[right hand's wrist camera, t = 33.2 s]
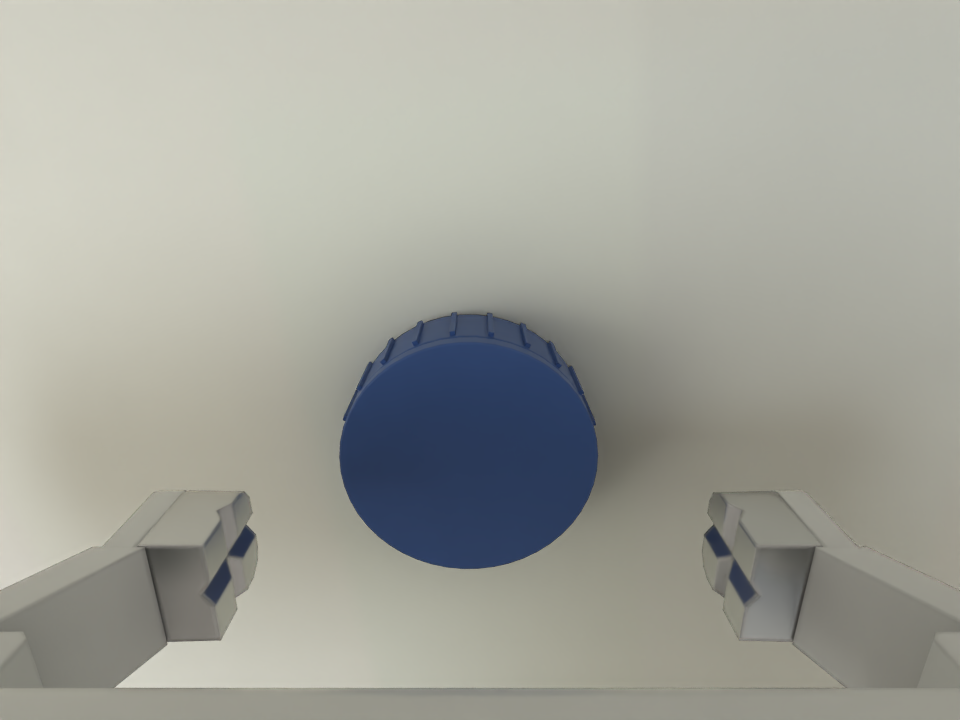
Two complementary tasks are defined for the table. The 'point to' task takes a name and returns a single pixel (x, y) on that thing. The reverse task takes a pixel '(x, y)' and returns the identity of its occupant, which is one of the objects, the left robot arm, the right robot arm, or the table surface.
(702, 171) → the table surface
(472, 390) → the lid
